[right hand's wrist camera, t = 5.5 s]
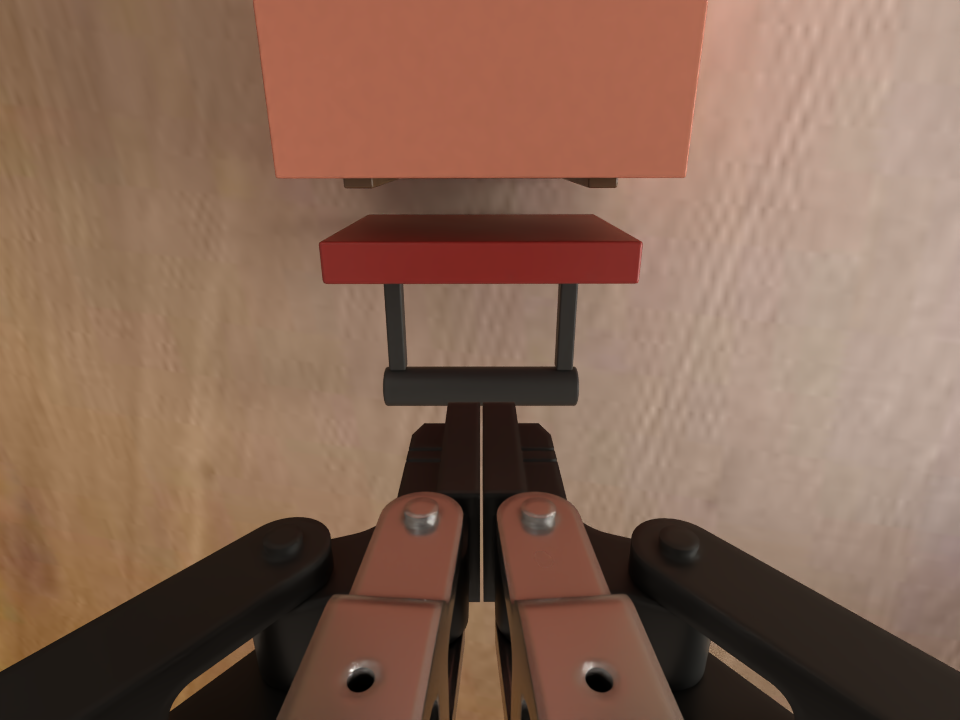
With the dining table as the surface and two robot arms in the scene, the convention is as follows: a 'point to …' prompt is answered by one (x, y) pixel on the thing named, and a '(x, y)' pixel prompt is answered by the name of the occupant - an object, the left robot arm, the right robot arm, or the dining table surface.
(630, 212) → the dining table surface
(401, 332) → the drawer
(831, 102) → the dining table surface
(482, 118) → the cabinet
